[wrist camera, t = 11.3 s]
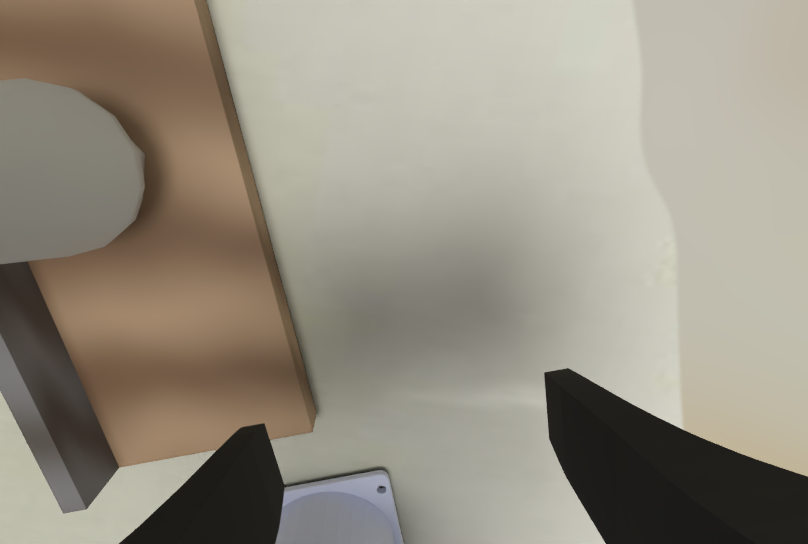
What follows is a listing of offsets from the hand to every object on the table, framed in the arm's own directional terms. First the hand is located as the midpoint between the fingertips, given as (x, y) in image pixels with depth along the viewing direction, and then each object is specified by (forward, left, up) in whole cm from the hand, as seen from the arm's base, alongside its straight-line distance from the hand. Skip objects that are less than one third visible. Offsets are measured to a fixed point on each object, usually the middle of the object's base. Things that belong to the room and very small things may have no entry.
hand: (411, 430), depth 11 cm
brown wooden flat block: (+4, +10, -10) cm, 15 cm away
